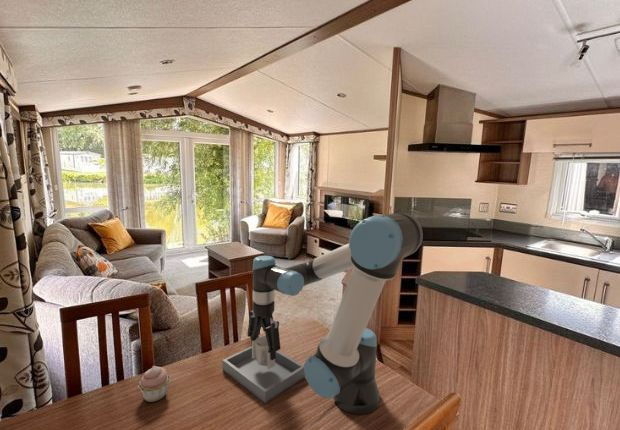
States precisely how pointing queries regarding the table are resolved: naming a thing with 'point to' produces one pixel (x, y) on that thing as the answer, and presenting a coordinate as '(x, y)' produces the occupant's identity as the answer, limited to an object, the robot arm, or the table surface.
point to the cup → (261, 350)
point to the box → (263, 374)
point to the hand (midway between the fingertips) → (263, 361)
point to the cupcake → (154, 384)
